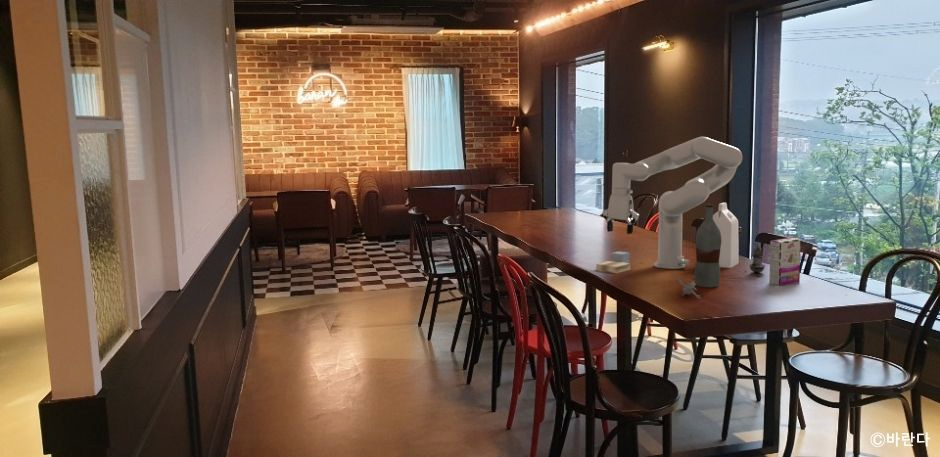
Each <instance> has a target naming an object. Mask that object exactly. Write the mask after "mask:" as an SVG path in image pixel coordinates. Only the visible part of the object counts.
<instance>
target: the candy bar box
mask: <svg viewBox="0 0 940 457" xmlns="http://www.w3.org/2000/svg"><path fill="white" fill-rule="evenodd" d="M769 245H770V247H769V281H768V282H769V283H768V284H770V285H773V286H779V287H780V286H781V287H782V286H786V285H792V284H797V283H800V279H801V278H800V277H801V276H800V274H801V248H802V246H801V245H802V240H801V239H800V238H796V237H795V238H794V237H789V238H782V239H781V238H780V239H775V240H773V239H772V240H770V242H769Z"/></svg>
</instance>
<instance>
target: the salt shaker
mask: <svg viewBox="0 0 940 457" xmlns="http://www.w3.org/2000/svg"><path fill="white" fill-rule="evenodd" d="M752 257H753V258H752V260H753V261H752V263H751V264H748V265H749V269H750V271H751V272H750V273H749V276H754V277H762V276H764V275H765V274H764V273H763V271H764V269H765V267H766V265H764V264H762V263H763V262H762V257H763V256H762V247H761V246H759V244H757V246H755V247H754V248H753V255H752Z"/></svg>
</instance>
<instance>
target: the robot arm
mask: <svg viewBox="0 0 940 457" xmlns="http://www.w3.org/2000/svg"><path fill="white" fill-rule="evenodd" d="M700 159H702V160H705V161H708V162H710V163H712V164H715V165H714V166H713V167H712V168H710V169H708V170H707V171H705V172H703V173H702V174H700V175H698V176H696V177H694V178H691V179H690V180H688V181H686V182H685V184H684V185H683V186H681V187H679V188H677V189H676V190H669V191H665V192H664V193H662V195H661V196H659V197H660V198H659V199H658V242H657V243H658V244H657V246H658V248H657V261H655V262H653V267H656V268H658V269H659V268H660V269H667V270H677V269H684V268H685V267H686V265H687V266H689V265H690V263H691V260H690V259H685V256H684V255H683V253H682V252H683V250H682V249H683V246H682V245H683V214H684V213H686V212H688V211H690V210H692V209H693V208H696V207H698V206H699V205H702V204H703V203H704V202H706V200H707V199H708V198H709V197H710V194H712V193H714V192H715V191H717V190H719V189H721V188H722V187H724V186H726V185H727V184H728V183H729V182H730V181H731V180H732V179H733V178H734V176H735V174H736V171H737V169H738V166H740V165H741V163H742V161H743V154H742V151H741V150H740V149H739V148H737V147H735V146H732V145H729V144H726V143H723V142H720V141H717V140H714V139H711V138H709V137H708V136H707V137H706V136H699V137H696V138H693V139H690V140H688V141H686V142H682V143H681V144H680V143H679V144H678V145H675V146H673V147H671V148H668V149H666V150H663V151H662V152H660V153H657V154H653V155H652V156H649V157H647V158H644V159H642V160H639V161H637V162H635V163H629V162H615V163H613V165H612V178H611V179H612V181H611V182H612V183H611V184H612V185H611V194H610V197H609V200H608V208H607V209H604V210H602V211H601V212H602V215H603V219H605V223H607V224H606V231H607V232H608V233H610V232H613V231H614V222H613V220H621V221H622V220H624V221H625V220H626V222H627V223H628V224H627V226H626V228H627V229H626V234H627V235H632V234H633V231H634V224H635V223H636V222H637V221H638V219H639V217H640V214H639V213H638V212H636V211H635V209H634V200H633V196H632V195H631V194H633V193H634V192H633V190H632V189H631V183H632V182H631V181H637V182H644V181H645V180H647V179H648V178H649V177H651V176H652V175H655V174H658V173H661V172H664V171H667V170H674V169H678V168H680V167H682V166H685V165H688V164H691V163H693V162H696V161H697V160H700Z"/></svg>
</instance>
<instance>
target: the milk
mask: <svg viewBox="0 0 940 457" xmlns="http://www.w3.org/2000/svg"><path fill="white" fill-rule="evenodd" d="M713 220H714V222H715V223H716V225H717V227H718V228H719V230H720V233H721V240H722V242H721V248H720V258H719V265H720V268H727V269H731V268H733V267H735V266H736V265H739V259H740V258H739V253H740V252H739V246H740V245H739V244H740V243H739V220H738V218H737V217H736V216H735V215H734V214H733V212H731V211H730V210H729V209H728V204H727V202H721V203H719V204H718V211H716V212H715V213H713Z"/></svg>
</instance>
